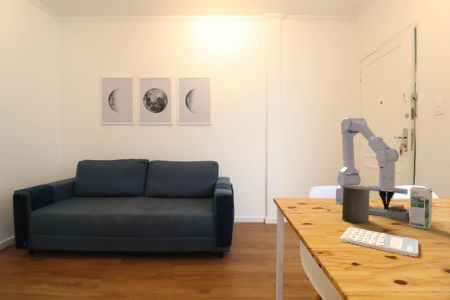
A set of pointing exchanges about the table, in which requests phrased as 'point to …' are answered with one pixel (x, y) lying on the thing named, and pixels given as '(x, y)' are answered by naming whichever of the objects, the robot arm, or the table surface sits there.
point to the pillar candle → (355, 204)
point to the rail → (391, 213)
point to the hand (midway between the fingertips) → (386, 209)
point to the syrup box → (420, 207)
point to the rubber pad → (380, 208)
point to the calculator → (381, 241)
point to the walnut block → (398, 208)
